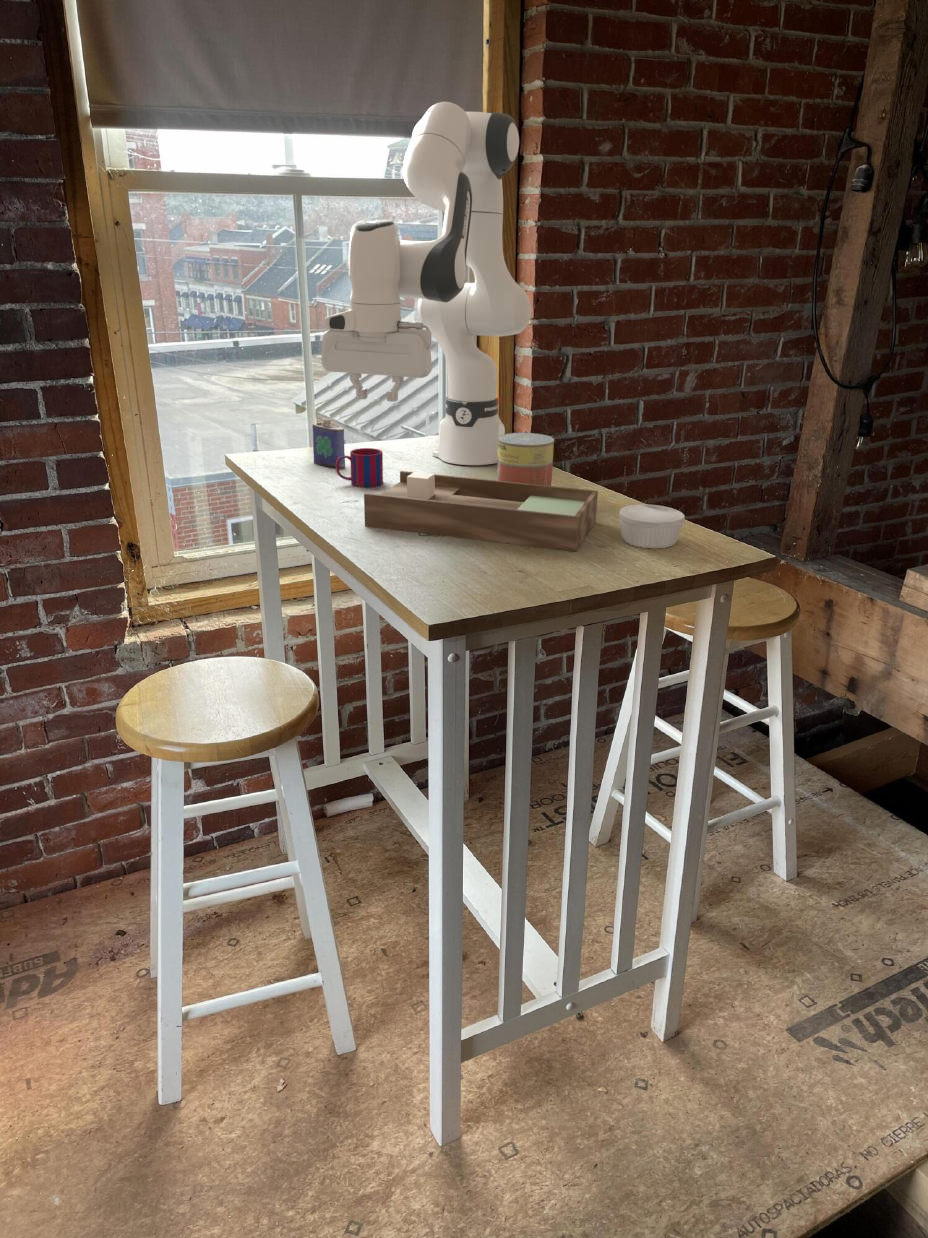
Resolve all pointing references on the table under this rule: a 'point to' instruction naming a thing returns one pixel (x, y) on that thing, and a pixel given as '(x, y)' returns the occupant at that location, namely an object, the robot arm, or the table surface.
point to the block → (420, 485)
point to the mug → (364, 467)
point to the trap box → (488, 511)
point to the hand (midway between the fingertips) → (377, 399)
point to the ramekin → (650, 525)
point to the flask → (328, 444)
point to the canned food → (525, 458)
